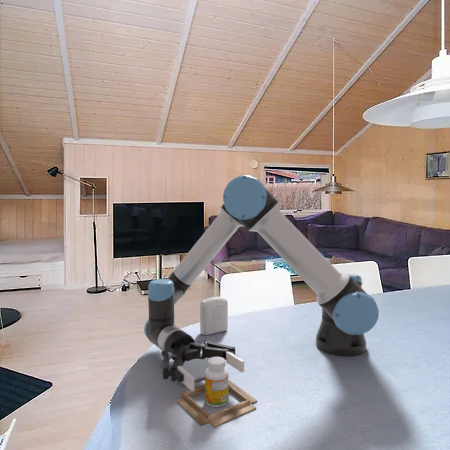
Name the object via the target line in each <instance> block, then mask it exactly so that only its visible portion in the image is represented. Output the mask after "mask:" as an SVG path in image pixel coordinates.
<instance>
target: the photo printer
mask: <svg viewBox="0 0 450 450" xmlns="http://www.w3.org/2000/svg"><path fill="white" fill-rule="evenodd" d="M199 305H200V307H199V308H200V309H199V310H200V311H199V317H200V318H199V322H200V323H199V324H200V326H199V330H200V334H201V335H202V336H207V335H208V336H209V335H214V334H217V333H222V332H224V331H225V332H226V331H228V319H229V317H228V316H229V315H228V312H229V309H228V308H229V307H228V306H229V305H228V300H227V298H226V297H223V296H212V297H211V296H210V297H209V298H205V299H204V300H202V301H200V304H199Z"/></svg>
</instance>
